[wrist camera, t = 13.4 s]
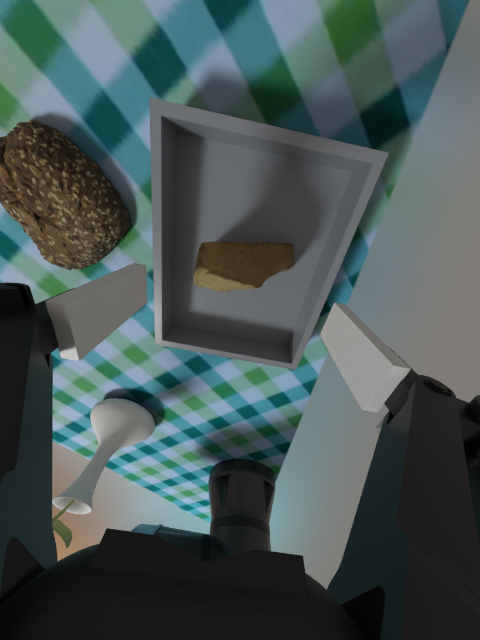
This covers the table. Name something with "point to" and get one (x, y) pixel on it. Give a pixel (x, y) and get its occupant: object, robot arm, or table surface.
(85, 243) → the bread roll
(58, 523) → the flower in vase
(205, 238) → the bin
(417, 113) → the table surface
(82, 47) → the table surface
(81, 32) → the table surface
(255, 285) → the rock
